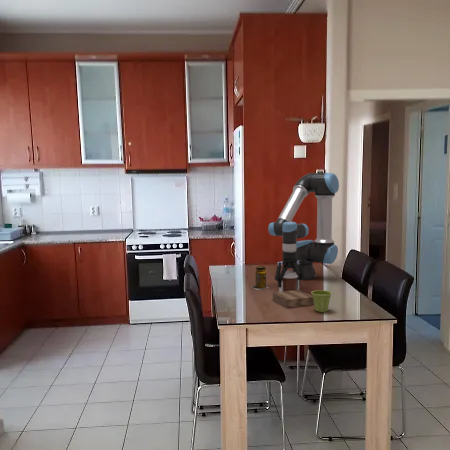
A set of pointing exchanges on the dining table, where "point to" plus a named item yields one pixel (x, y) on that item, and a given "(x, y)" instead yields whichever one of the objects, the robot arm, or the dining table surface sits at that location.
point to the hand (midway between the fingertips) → (289, 292)
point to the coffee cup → (289, 281)
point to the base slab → (293, 298)
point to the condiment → (260, 278)
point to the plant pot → (321, 300)
